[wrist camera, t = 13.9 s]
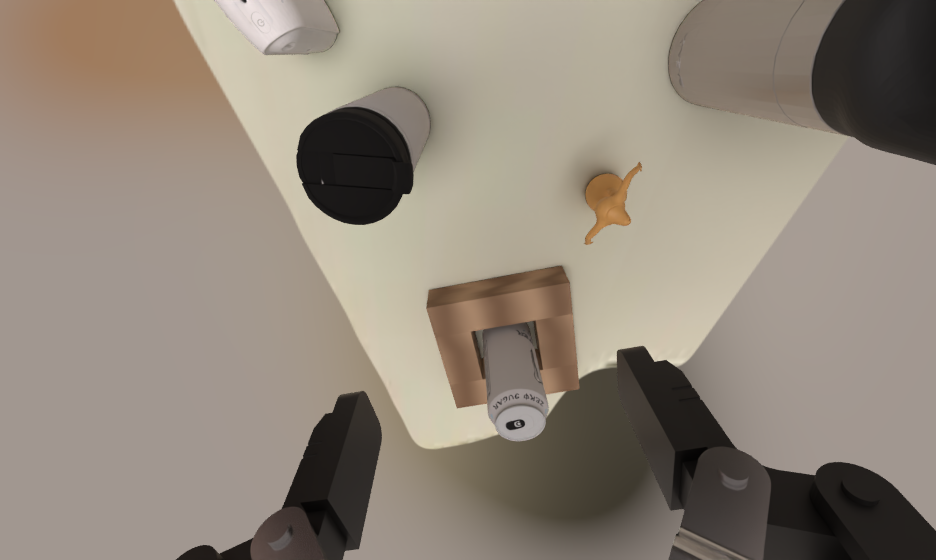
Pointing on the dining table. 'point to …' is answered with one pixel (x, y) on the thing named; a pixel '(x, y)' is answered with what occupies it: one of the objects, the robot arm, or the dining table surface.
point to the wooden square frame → (501, 305)
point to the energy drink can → (514, 382)
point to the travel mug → (364, 155)
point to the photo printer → (283, 24)
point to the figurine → (608, 200)
